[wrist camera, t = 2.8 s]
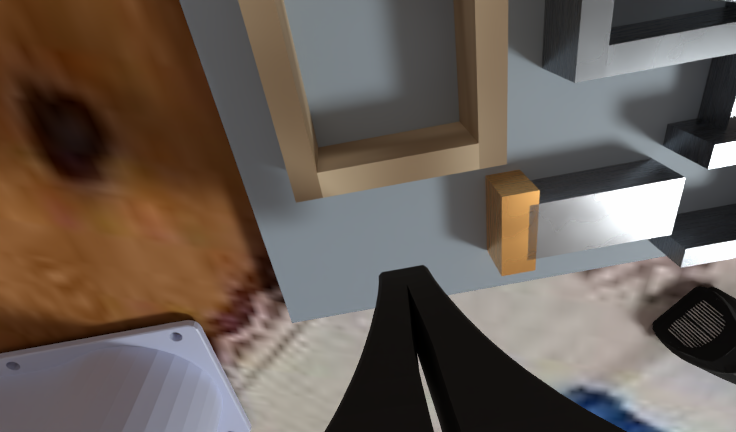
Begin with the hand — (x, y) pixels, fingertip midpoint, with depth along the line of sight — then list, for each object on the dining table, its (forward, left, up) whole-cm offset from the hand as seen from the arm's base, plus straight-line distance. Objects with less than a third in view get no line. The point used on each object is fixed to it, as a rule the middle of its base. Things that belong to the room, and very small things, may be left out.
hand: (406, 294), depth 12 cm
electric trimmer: (+18, -12, -5) cm, 23 cm away
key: (+7, 0, -4) cm, 8 cm away
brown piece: (0, +6, -4) cm, 7 cm away
